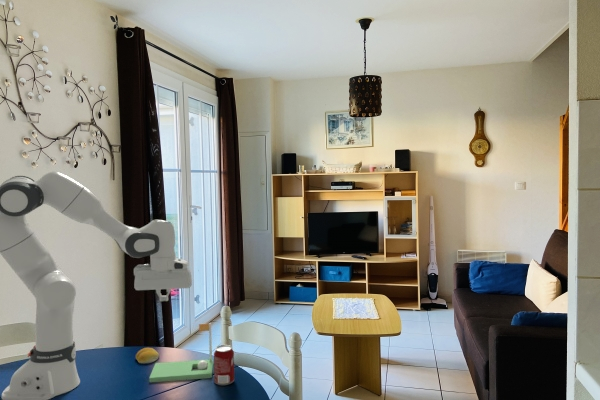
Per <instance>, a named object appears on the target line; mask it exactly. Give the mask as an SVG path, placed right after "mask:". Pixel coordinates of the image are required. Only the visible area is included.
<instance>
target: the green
mask: <svg viewBox="0 0 600 400" xmlns="http://www.w3.org/2000/svg"><path fill="white" fill-rule="evenodd" d="M198 329H199V332H208V333H209V335H208V339H209V340H208V341H209V342H208V343H209V344H208V345H209V347H208V348H209V359H196V360H182V361H181V360H180V361H169V362H167V361H166V362H155V364H154V366H153V367H152V371H151V373H150V375H149V378H148V380H149V383H159V382H172V381H173V382H174V381H175V382H176V381H186V379H187V380H199V379H211V378H212V377H213V372H214V358H213V355H212V354H213V353H212V352H213V350H212V349H213V347H212V323H211V322H209V323H200V324H198ZM202 360H204V361H206V362H207V364H208V367H207V369H206V370H199V369H198V363H199V362H200V361H202Z"/></svg>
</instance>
